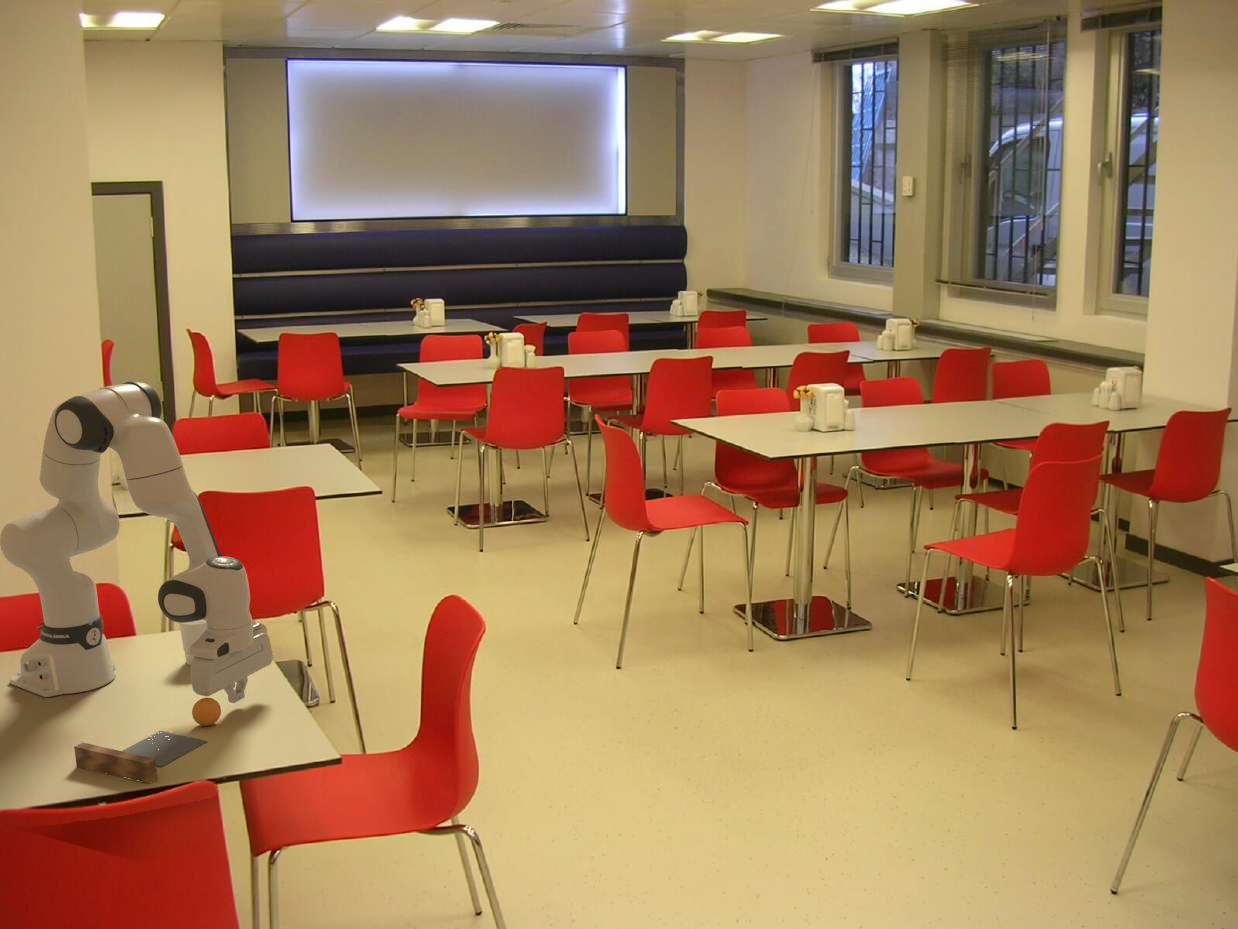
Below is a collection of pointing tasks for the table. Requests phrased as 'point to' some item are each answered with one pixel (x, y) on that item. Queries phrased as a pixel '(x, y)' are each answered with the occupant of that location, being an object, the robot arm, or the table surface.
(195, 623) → the white cup
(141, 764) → the stopper wall
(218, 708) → the ball
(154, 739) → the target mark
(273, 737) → the table surface
